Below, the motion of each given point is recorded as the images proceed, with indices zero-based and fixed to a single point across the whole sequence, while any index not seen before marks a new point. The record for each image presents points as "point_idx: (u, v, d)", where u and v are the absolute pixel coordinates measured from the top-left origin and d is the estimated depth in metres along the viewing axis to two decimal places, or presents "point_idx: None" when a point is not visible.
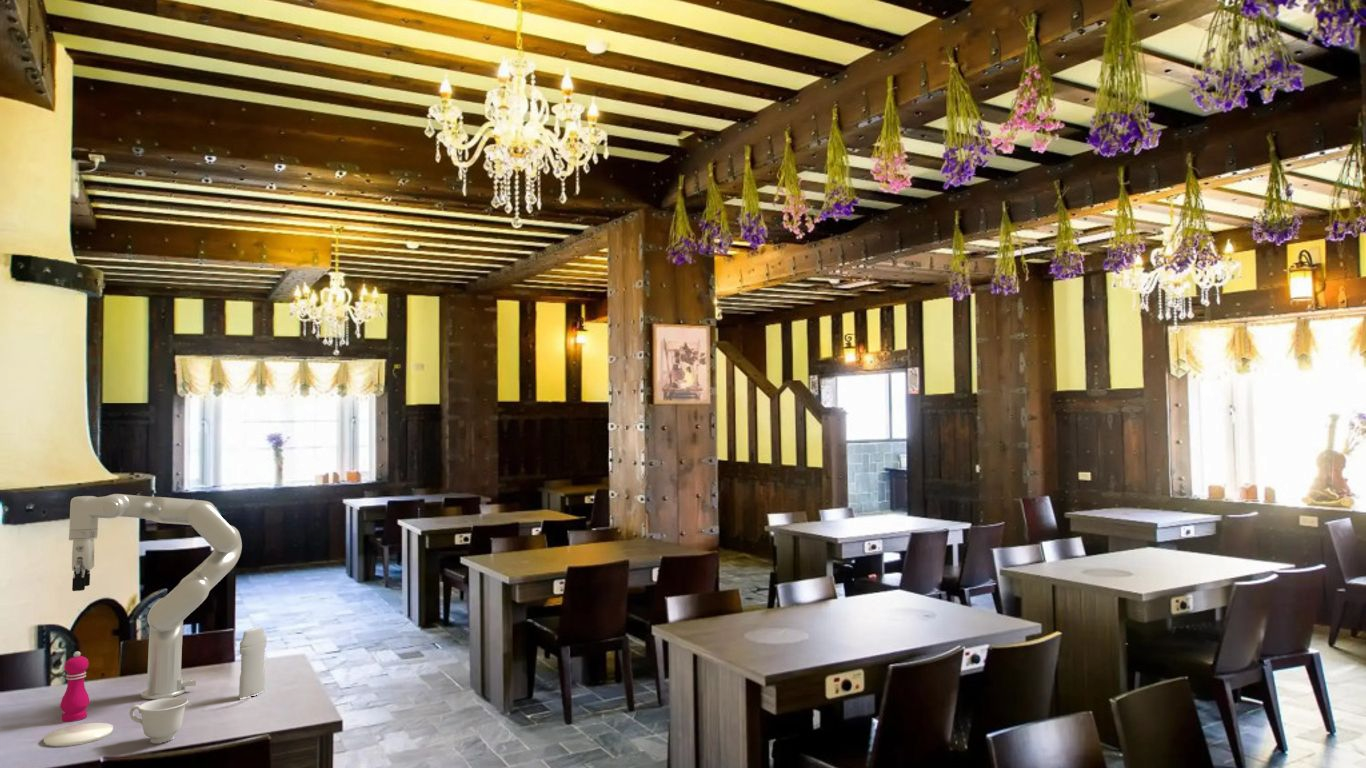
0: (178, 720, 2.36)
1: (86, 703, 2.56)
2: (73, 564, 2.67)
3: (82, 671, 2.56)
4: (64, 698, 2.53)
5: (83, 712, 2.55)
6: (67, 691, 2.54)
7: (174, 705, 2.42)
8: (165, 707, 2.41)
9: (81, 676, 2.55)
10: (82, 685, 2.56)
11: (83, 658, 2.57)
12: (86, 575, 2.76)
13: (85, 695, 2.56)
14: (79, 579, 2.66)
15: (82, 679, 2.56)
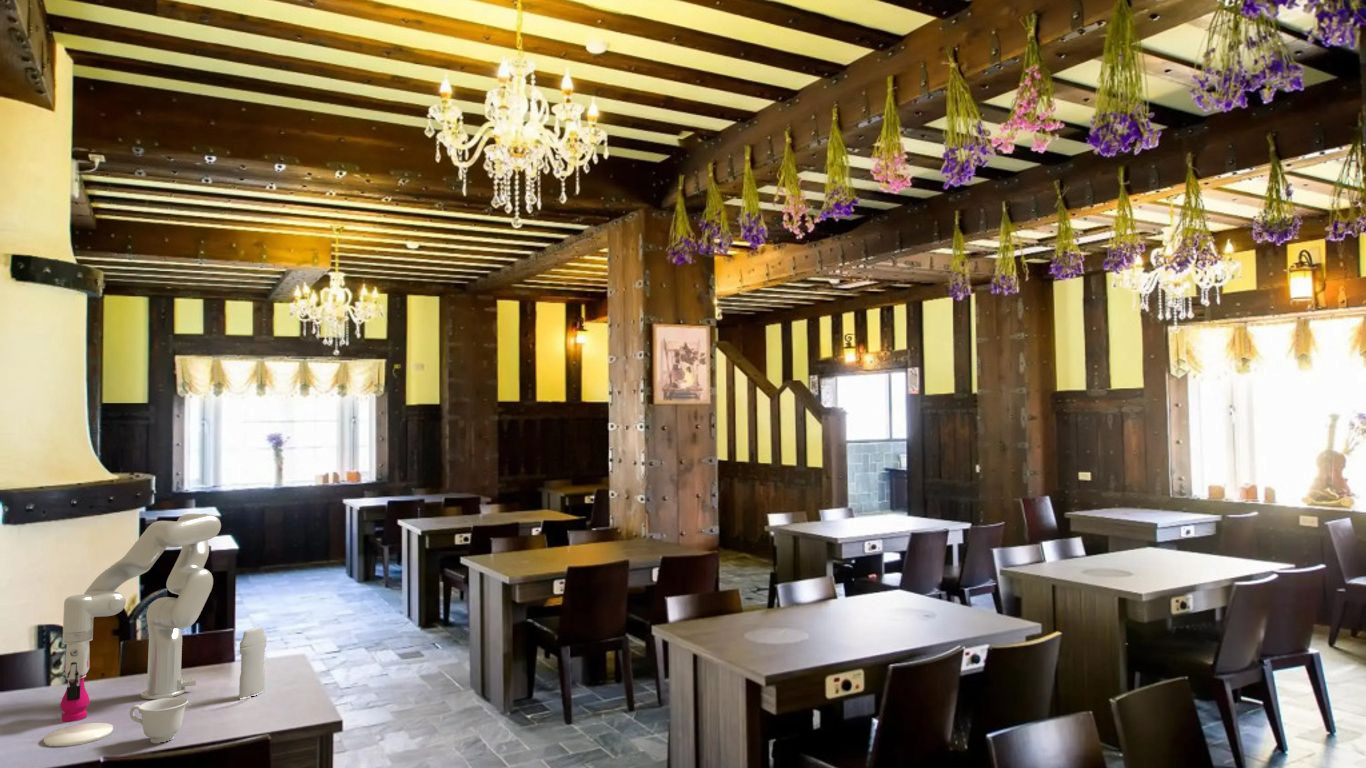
0: (178, 720, 2.36)
1: (86, 703, 2.56)
2: (67, 670, 2.51)
3: None
4: (64, 698, 2.53)
5: (83, 712, 2.55)
6: None
7: (174, 705, 2.42)
8: (165, 707, 2.41)
9: (81, 676, 2.55)
10: (82, 685, 2.56)
11: None
12: None
13: (85, 695, 2.56)
14: (74, 688, 2.53)
15: (82, 679, 2.56)
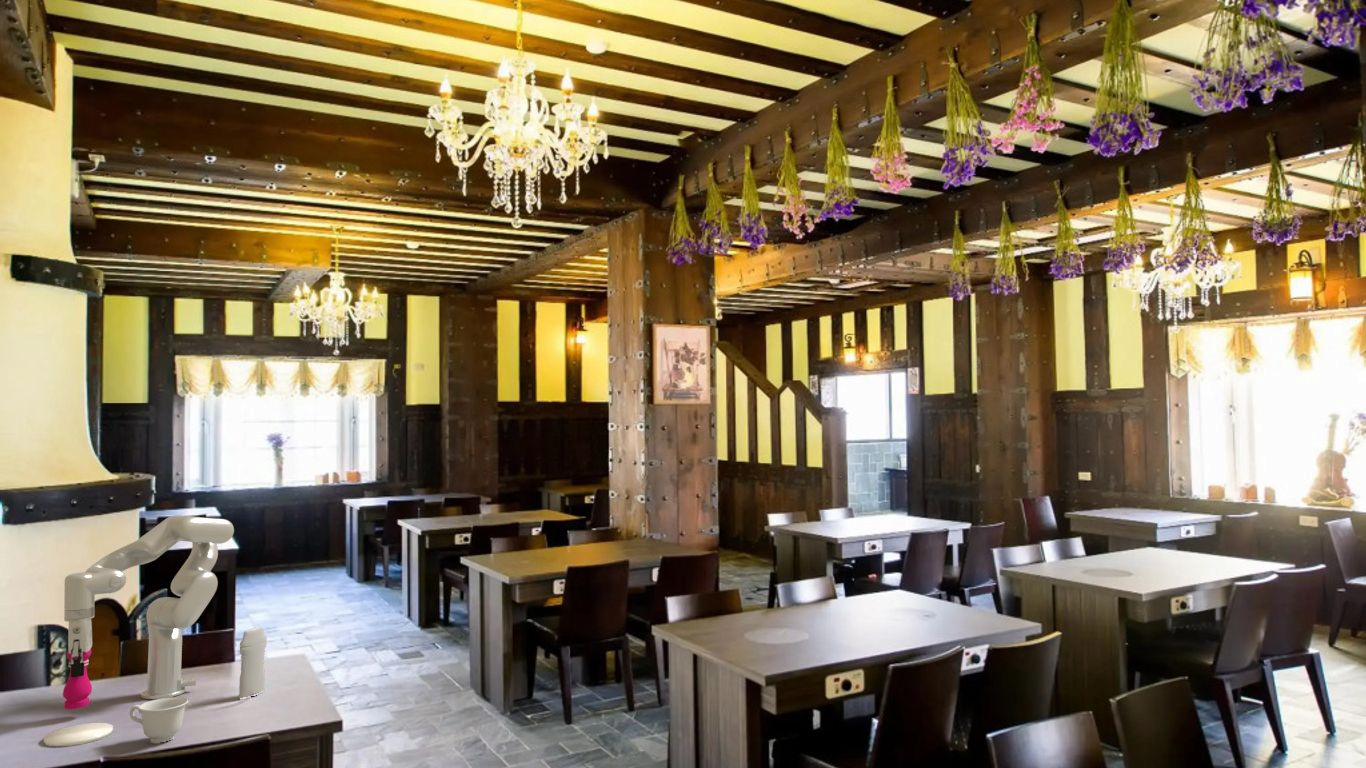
0: (178, 720, 2.36)
1: (88, 691, 2.56)
2: (70, 647, 2.52)
3: (85, 659, 2.57)
4: (67, 686, 2.54)
5: (85, 700, 2.56)
6: (70, 679, 2.55)
7: (174, 705, 2.42)
8: (165, 707, 2.41)
9: (84, 664, 2.56)
10: (84, 673, 2.57)
11: None
12: None
13: (87, 683, 2.57)
14: (78, 665, 2.54)
15: (84, 667, 2.57)
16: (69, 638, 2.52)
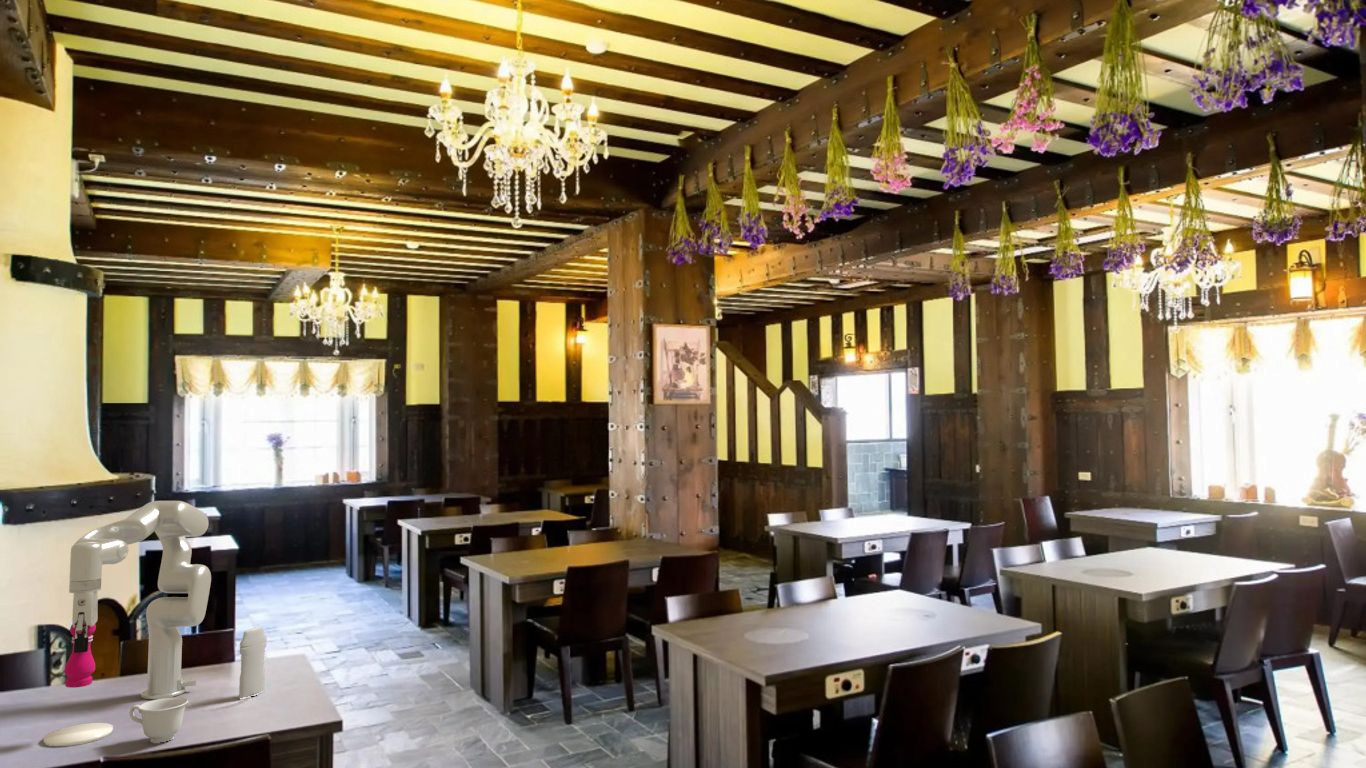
0: (178, 720, 2.36)
1: (92, 669, 2.41)
2: (74, 620, 2.37)
3: (89, 634, 2.41)
4: (69, 662, 2.38)
5: (88, 678, 2.40)
6: (72, 655, 2.39)
7: (174, 705, 2.42)
8: (165, 707, 2.41)
9: None
10: (88, 649, 2.41)
11: None
12: None
13: (91, 660, 2.41)
14: (82, 639, 2.38)
15: (88, 643, 2.41)
16: (73, 610, 2.37)
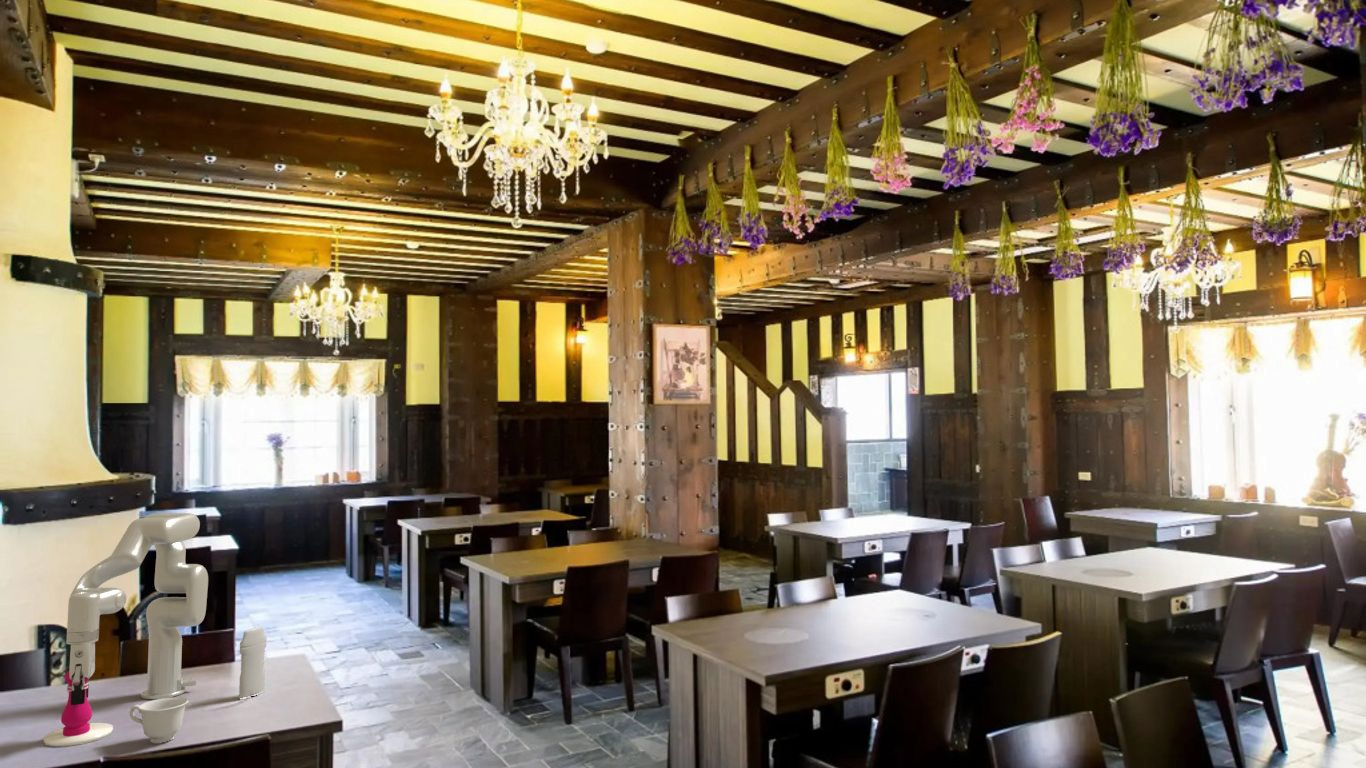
0: (178, 720, 2.36)
1: (88, 716, 2.39)
2: (71, 672, 2.35)
3: None
4: (65, 711, 2.37)
5: (85, 726, 2.39)
6: (68, 704, 2.38)
7: (174, 705, 2.42)
8: (165, 707, 2.41)
9: None
10: None
11: None
12: None
13: (87, 708, 2.40)
14: (78, 691, 2.37)
15: None
16: (71, 662, 2.36)
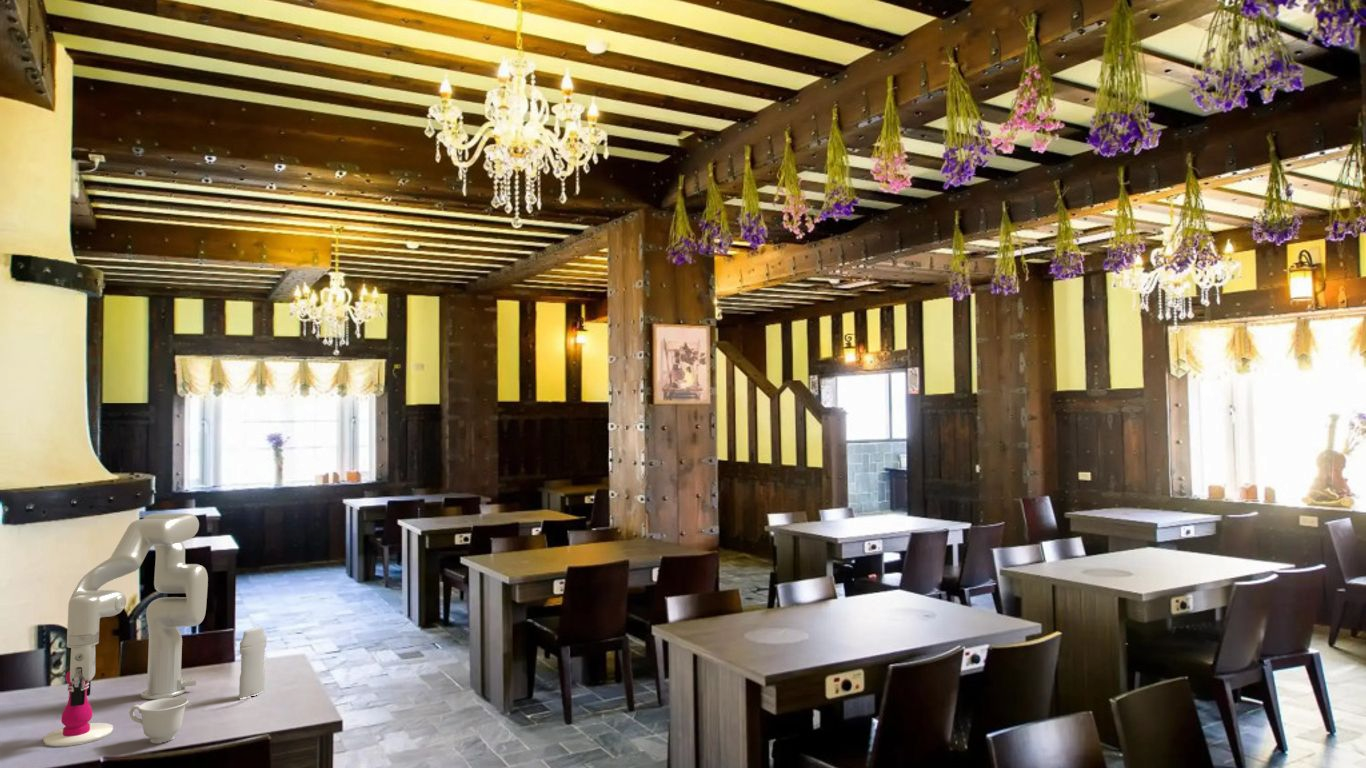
0: (178, 720, 2.36)
1: (89, 716, 2.39)
2: (71, 675, 2.36)
3: None
4: (65, 711, 2.37)
5: (86, 726, 2.39)
6: (68, 703, 2.38)
7: (174, 705, 2.42)
8: (165, 707, 2.41)
9: None
10: None
11: None
12: None
13: (88, 708, 2.40)
14: (78, 692, 2.35)
15: None
16: (71, 666, 2.36)
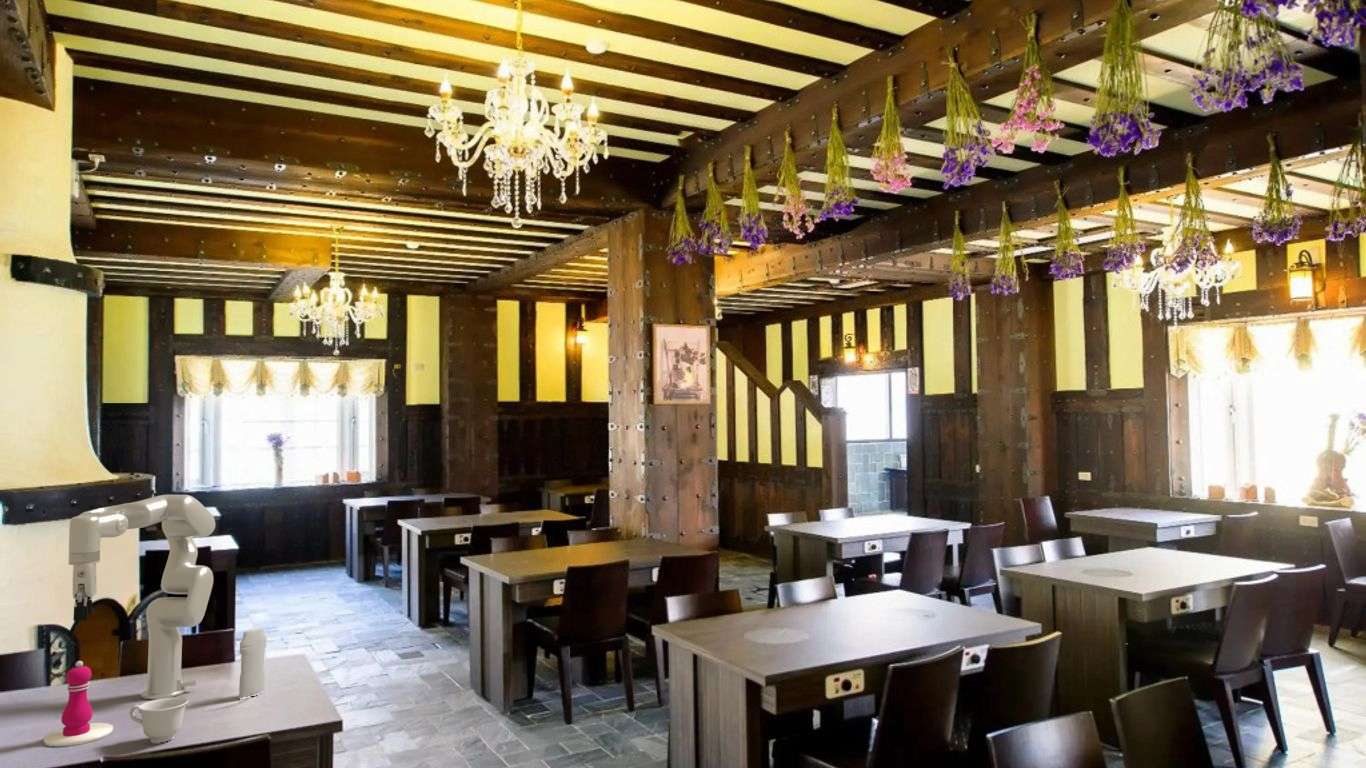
0: (178, 720, 2.36)
1: (89, 716, 2.39)
2: (74, 591, 2.42)
3: (84, 682, 2.40)
4: (65, 711, 2.37)
5: (86, 726, 2.39)
6: (68, 703, 2.38)
7: (174, 705, 2.42)
8: (165, 707, 2.41)
9: (83, 687, 2.39)
10: (84, 697, 2.40)
11: (86, 668, 2.40)
12: (88, 602, 2.51)
13: (88, 708, 2.40)
14: (81, 608, 2.41)
15: (84, 690, 2.40)
16: (74, 582, 2.42)
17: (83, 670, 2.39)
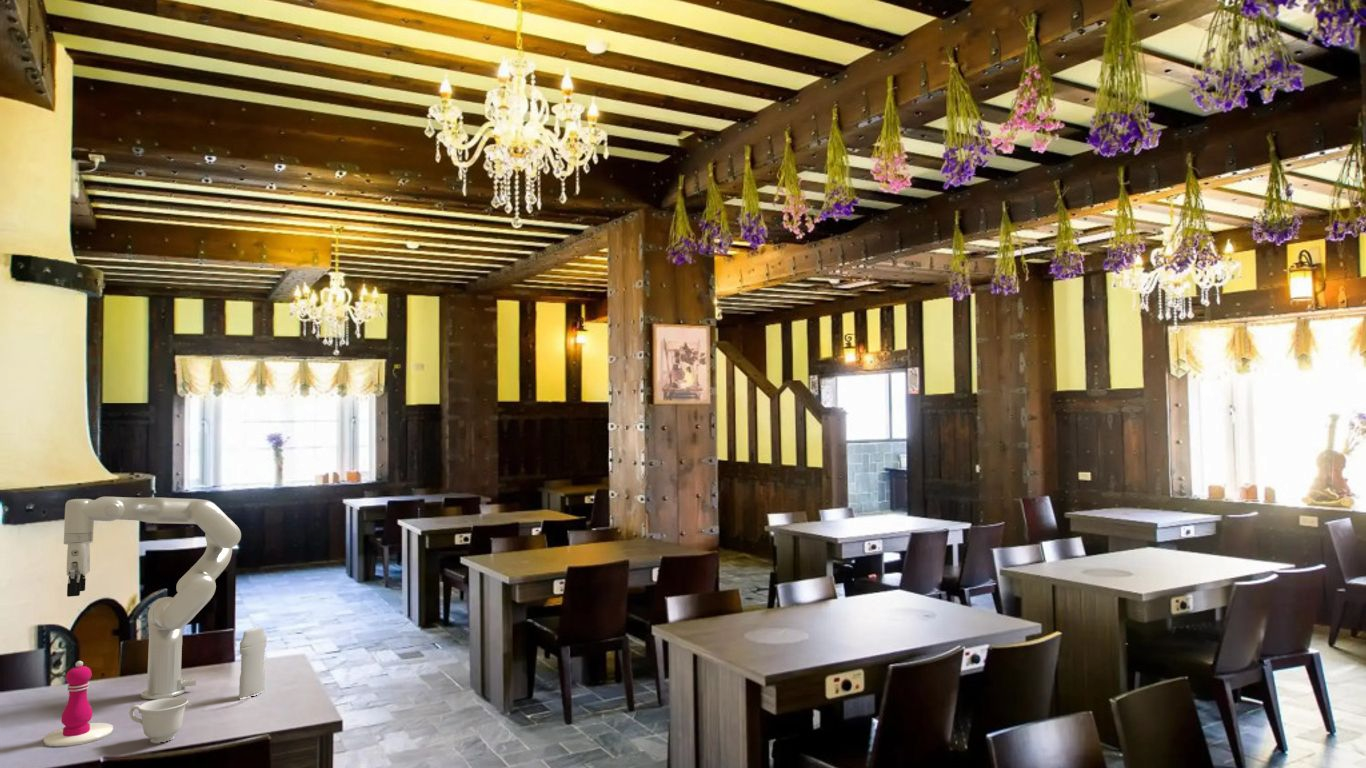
0: (178, 720, 2.36)
1: (89, 716, 2.39)
2: (68, 569, 2.59)
3: (84, 682, 2.40)
4: (65, 711, 2.37)
5: (86, 726, 2.39)
6: (69, 703, 2.38)
7: (174, 705, 2.42)
8: (165, 707, 2.41)
9: (83, 687, 2.39)
10: (84, 697, 2.40)
11: (86, 668, 2.40)
12: (81, 580, 2.68)
13: (88, 708, 2.40)
14: (74, 584, 2.59)
15: (84, 690, 2.40)
16: (68, 560, 2.60)
17: (83, 670, 2.39)
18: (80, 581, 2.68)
